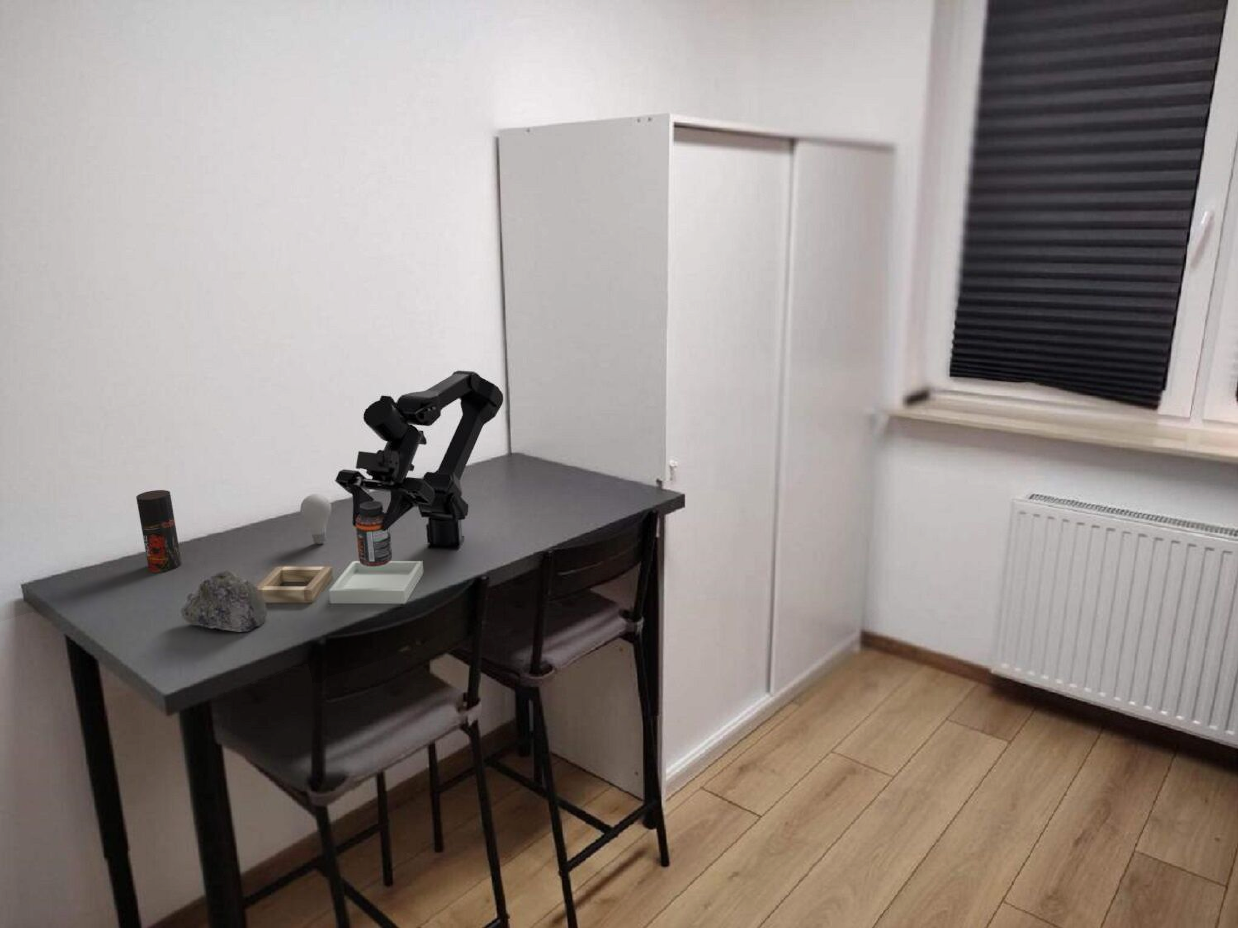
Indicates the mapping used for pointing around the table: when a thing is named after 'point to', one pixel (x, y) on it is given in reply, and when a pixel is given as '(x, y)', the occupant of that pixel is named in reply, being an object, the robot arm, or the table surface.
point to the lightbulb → (316, 515)
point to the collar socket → (295, 594)
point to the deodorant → (159, 530)
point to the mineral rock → (226, 604)
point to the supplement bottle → (372, 535)
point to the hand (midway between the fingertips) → (368, 528)
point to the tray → (377, 583)
